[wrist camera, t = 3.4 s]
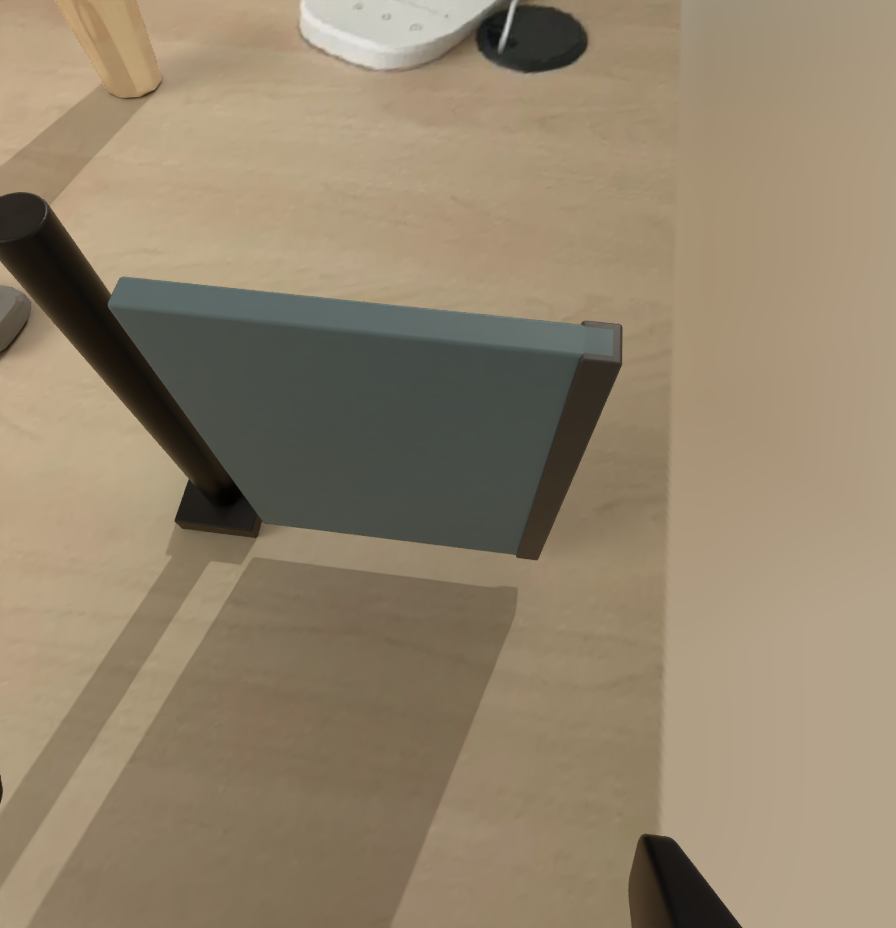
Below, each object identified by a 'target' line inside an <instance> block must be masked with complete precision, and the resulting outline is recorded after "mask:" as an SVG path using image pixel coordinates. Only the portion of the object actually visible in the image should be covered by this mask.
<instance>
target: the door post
mask: <svg viewBox="0 0 896 928" xmlns="http://www.w3.org/2000/svg"><path fill="white" fill-rule="evenodd" d="M0 261H1V262H2V264H3V265H4V266H5V267H6V268H7V269H8V271H9V272H10V273H11V274H12V275H13V276H14V277H15V279H16V280H17V281H18V282H19V283H20V284H21V286H22V287H23V288H24V289H25V290H26V291H27V292H28V294H29V295H30V296H31V297H32V298H33V299H34V301H35V302H36V303H37V304H38V305H39V306H40V307H41V309H42V310H43V311H44V312H45V313H46V314H47V316H48V317H49V318H50V319H51V320H52V321H53V322H54V324H55V325H56V326H57V327H58V328H59V329H60V331H61V332H62V333H63V334H64V335H65V336H66V337H67V339H68V340H69V341H70V342H71V343H72V344H73V346H74V347H75V348H76V349H77V350H78V351H79V352H80V354H81V355H82V356H83V357H84V358H85V359H86V361H87V362H88V363H89V364H90V365H91V366H92V367H93V369H94V370H95V371H96V372H97V373H98V374H99V376H100V377H101V378H102V379H103V380H104V381H105V382H106V384H107V385H108V386H109V387H110V388H111V389H112V391H113V392H114V393H115V394H116V395H117V396H118V397H119V399H120V400H121V401H122V402H123V403H124V404H125V406H126V407H127V408H128V409H129V410H130V411H131V412H132V414H133V415H134V416H135V417H136V418H137V419H138V420H139V422H140V423H141V424H142V425H143V426H144V427H145V429H146V430H147V431H148V432H149V433H150V434H151V435H152V437H153V438H154V439H155V440H156V441H157V442H158V444H159V445H160V446H161V447H162V448H163V449H164V450H165V452H166V453H167V454H168V455H169V456H170V457H171V459H172V460H173V461H174V462H175V463H176V464H177V465H178V467H179V468H180V469H181V470H182V471H183V472H184V474H185V475H186V476H187V477H188V478H189V480H188V483H187V486H186V489H185V492H184V495H183V497H182V500H181V503H180V506H179V509H178V512H177V515H176V518H175V522H176V523H177V524H178V525H179V526H180V527H181V528H183V529H191V530H198V531H206V532H214V533H222V534H230V535H238V536H246V537H254V538H257V536H258V533H259V529H260V526H261V522H262V520H261V518H260V517H259V515H258V514H257V513H256V511H255V510H254V508H253V507H252V506H251V504H250V503H249V502H248V500H247V499H246V497H245V496H244V495H243V493H242V492H241V490H240V489H239V488H238V486H237V485H236V484H235V482H234V481H233V479H232V478H231V477H230V475H229V474H228V472H227V471H226V470H225V468H224V467H223V466H222V464H221V463H220V461H219V460H218V459H217V457H216V456H215V454H214V453H213V452H212V450H211V449H210V447H209V446H208V445H207V443H206V442H205V441H204V439H203V438H202V436H201V435H200V434H199V432H198V431H197V429H196V428H195V427H194V425H193V424H192V423H191V421H190V420H189V418H188V417H187V416H186V414H185V413H184V411H183V410H182V409H181V407H180V406H179V405H178V403H177V402H176V400H175V399H174V398H173V396H172V395H171V393H170V392H169V391H168V389H167V388H166V387H165V385H164V384H163V382H162V381H161V380H160V378H159V377H158V375H157V374H156V373H155V371H154V370H153V368H152V367H151V366H150V364H149V363H148V362H147V360H146V359H145V357H144V356H143V355H142V353H141V352H140V350H139V349H138V348H137V346H136V345H135V344H134V342H133V341H132V339H131V338H130V337H129V335H128V334H127V332H126V331H125V330H124V328H123V327H122V326H121V324H120V323H119V321H118V320H117V319H116V317H115V316H114V314H113V313H112V312H111V310H110V309H109V307H108V302H109V300H110V297H111V294H110V292H109V291H108V289H107V288H106V287H105V285H104V284H103V282H102V281H101V279H100V278H99V276H98V275H97V274H96V272H95V271H94V269H93V268H92V266H91V265H90V264H89V262H88V261H87V259H86V258H85V256H84V255H83V254H82V252H81V251H80V249H79V248H78V246H77V245H76V243H75V242H74V241H73V239H72V238H71V236H70V235H69V233H68V232H67V231H66V229H65V228H64V226H63V225H62V223H61V222H60V220H59V219H58V218H57V216H56V215H55V213H54V212H53V210H52V209H51V208H50V206H49V205H48V203H47V202H46V201H45V200H44V199H42V198H41V197H39V196H37V195H35V194H32V193H26V192H17V193H11V194H6V195H3V196H1V197H0Z"/></svg>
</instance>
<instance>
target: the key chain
mask: <svg viewBox="0 0 896 928" xmlns="http://www.w3.org/2000/svg"><path fill="white" fill-rule="evenodd" d="M30 309H31V301H30V300H29V299H28V298H27V296H26V295H25V294H24V293H22V292H20V291H18V290H16V289H14V288H12V287H7V286H2V285H0V352H1V351H2V350H4V349H5V348H7V346H8V345H9V344H10V343H11V341H12V340H13V339H14V338H15V336H16V335H17V334H18V333H19V331H20V330H21V328H22V327H23V325H24V324H25V322H26V321H27V319H28V318H29V314H30Z"/></svg>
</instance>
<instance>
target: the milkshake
mask: <svg viewBox="0 0 896 928" xmlns="http://www.w3.org/2000/svg"><path fill="white" fill-rule="evenodd" d="M55 2H56V4H57V6H58V7H59V9H60V11H61V12H62V14H63V16H64V18H65V19H66V21H67V23H68V24H69V26H70V28H71V30H72V31H73V33H74V35H75V37H76V38H77V40H78V42H79V43H80V45H81V47H82V49H83V50H84V52H85V54H86V55H87V57H88V59H89V61H90V62H91V64H92V66H93V68H94V69H95V71H96V73H97V74H98V76H99V78H100V80H101V81H102V83H103V85H104V87H105V88H106V90H107V91H108V92H109V93H111V94H113V95H116V96H118V97H120V98H131V97H141V96H143V95H145V94H147V93H149V92H151V91H153V90H155V89H156V87H157V86H158V84H159V83H160V81H161V80H162V75H161V72H160V69H159V66H158V63H157V60H156V57H155V54H154V51H153V48H152V45H151V42H150V39H149V36H148V33H147V30H146V27H145V24H144V21H143V18H142V15H141V12H140V9H139V6H138V3H137V0H55Z"/></svg>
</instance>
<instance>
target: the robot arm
mask: <svg viewBox="0 0 896 928" xmlns="http://www.w3.org/2000/svg"><path fill="white" fill-rule="evenodd" d="M2 794H3V787H2V782H1V776H0V803H1V799H2ZM628 892H629V905H630V915H631V924H632V928H742V927H741V925H740V924H739V923H738V922H737V920H736V919H735V918H734V916H733V915H732V914H731V912H730V911H729V910H728V908H727V907H726V906H725V905H724V903H723V902H722V901H721V900H720V898H719V897H718V896H717V894H716V893H715V892H714V890H713V889H712V888H711V886H710V885H709V884H708V883H707V881H706V880H705V879H704V877H703V876H702V875H701V874H700V872H699V871H698V870H697V868H696V867H695V866H694V864H693V863H692V862H691V861H690V859H689V858H688V857H687V855H686V854H685V853H684V852H683V850H682V849H681V848H680V846H679V845H678V844H677V843H676V842H675V841H674V840H673V839H672V838H670V837H666V836H659V835H651V834H643V835H641V837H640V838H639V840H638V843H637V848H636V852H635V856H634V860H633V864H632V868H631V873H630V877H629V888H628Z"/></svg>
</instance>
